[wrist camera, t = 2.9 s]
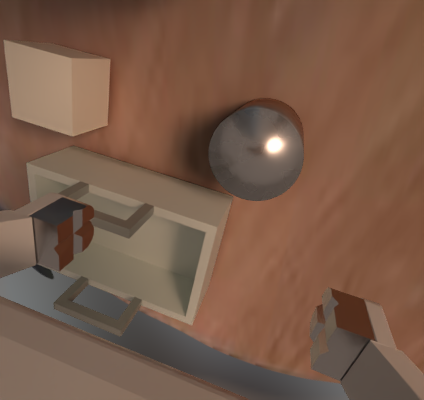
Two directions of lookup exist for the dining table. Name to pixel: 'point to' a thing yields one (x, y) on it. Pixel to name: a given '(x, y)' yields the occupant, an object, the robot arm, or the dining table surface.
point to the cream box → (57, 86)
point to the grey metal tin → (258, 150)
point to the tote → (135, 235)
